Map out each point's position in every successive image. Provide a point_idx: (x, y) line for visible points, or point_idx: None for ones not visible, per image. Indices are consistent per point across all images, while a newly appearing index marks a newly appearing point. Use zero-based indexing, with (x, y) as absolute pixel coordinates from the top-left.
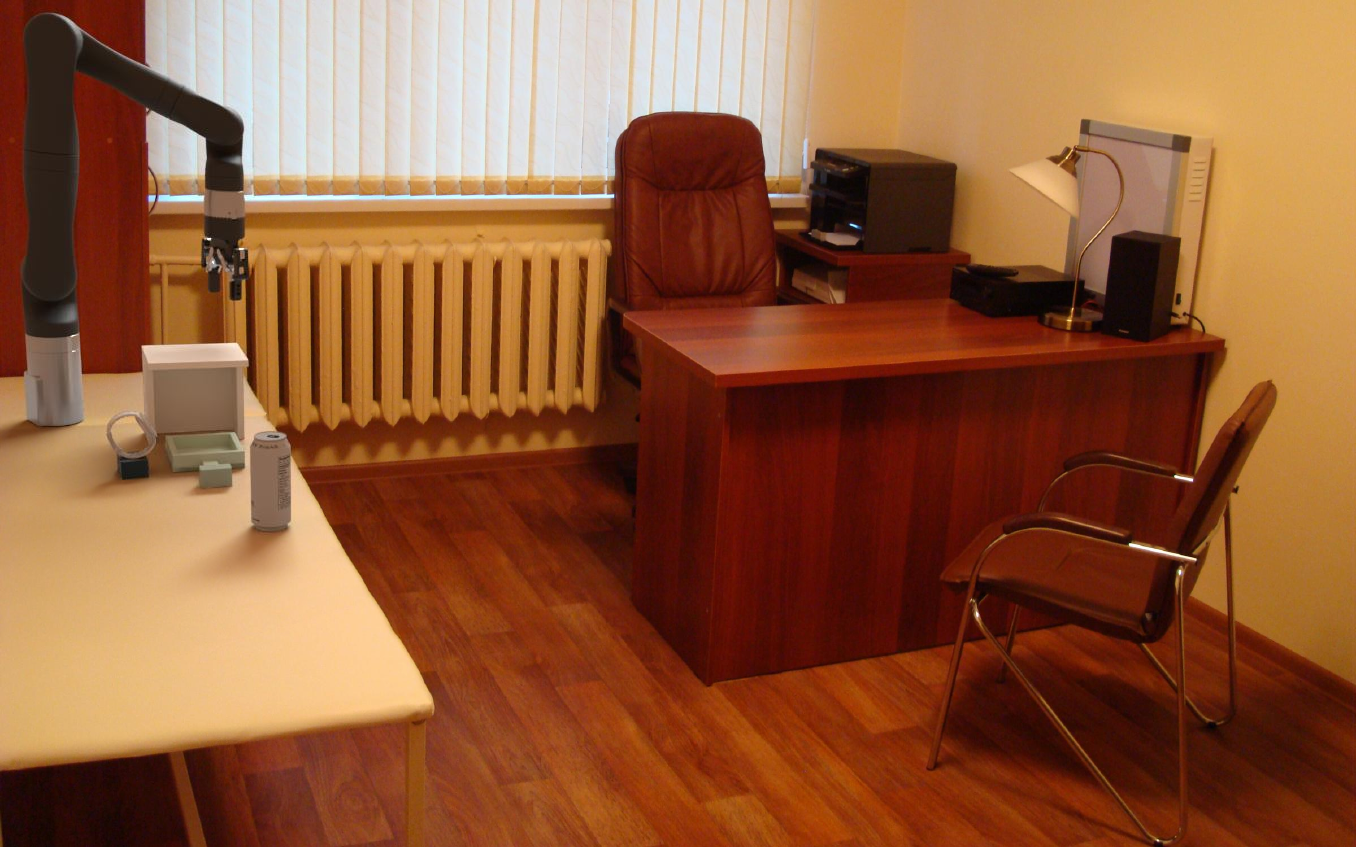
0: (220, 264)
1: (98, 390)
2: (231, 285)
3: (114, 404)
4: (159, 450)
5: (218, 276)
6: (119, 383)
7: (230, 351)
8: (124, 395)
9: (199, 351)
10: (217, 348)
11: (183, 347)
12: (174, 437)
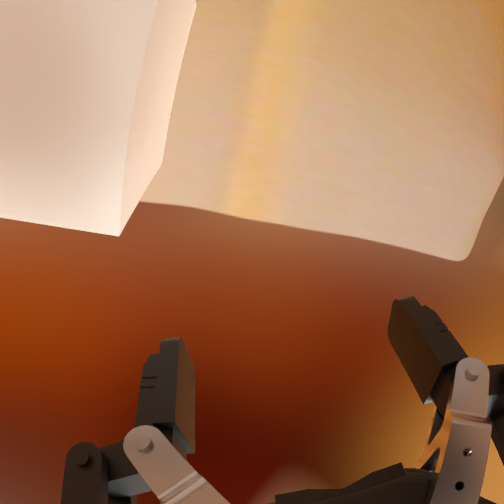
0: (332, 493)
1: (469, 58)
2: (155, 405)
3: (396, 32)
4: None
5: (419, 388)
6: (486, 103)
7: (16, 186)
8: (436, 73)
9: (31, 93)
10: (54, 156)
11: (97, 49)
12: None
